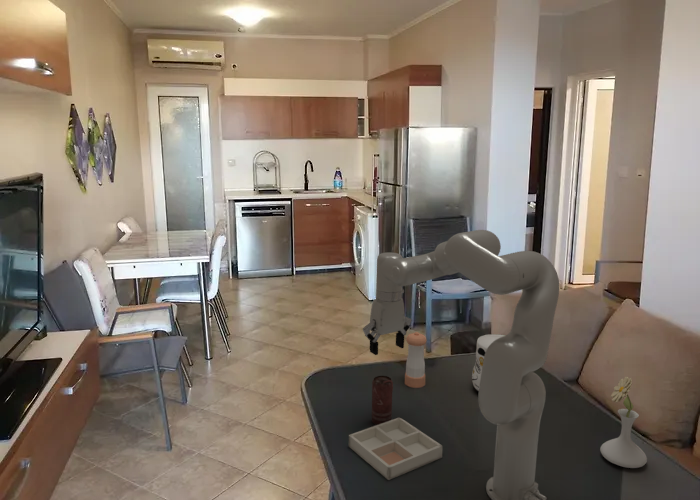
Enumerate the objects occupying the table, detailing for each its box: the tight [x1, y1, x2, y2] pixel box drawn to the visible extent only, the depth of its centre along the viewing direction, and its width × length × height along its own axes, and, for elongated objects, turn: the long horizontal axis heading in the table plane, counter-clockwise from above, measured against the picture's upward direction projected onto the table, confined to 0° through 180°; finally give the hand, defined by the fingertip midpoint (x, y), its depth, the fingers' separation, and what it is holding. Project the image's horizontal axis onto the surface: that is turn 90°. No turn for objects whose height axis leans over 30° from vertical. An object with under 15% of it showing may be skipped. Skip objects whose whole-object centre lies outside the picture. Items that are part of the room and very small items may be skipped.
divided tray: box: [347, 416, 443, 481], centre depth 148 cm, size 18×18×4 cm
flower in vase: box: [599, 376, 648, 469], centre depth 143 cm, size 13×11×25 cm
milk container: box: [471, 333, 507, 393], centre depth 184 cm, size 17×17×18 cm
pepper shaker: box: [404, 331, 428, 389], centre depth 189 cm, size 7×7×19 cm
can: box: [371, 375, 394, 426], centre depth 163 cm, size 6×6×14 cm
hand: (386, 350), depth 160 cm, fingers open, 9 cm apart
